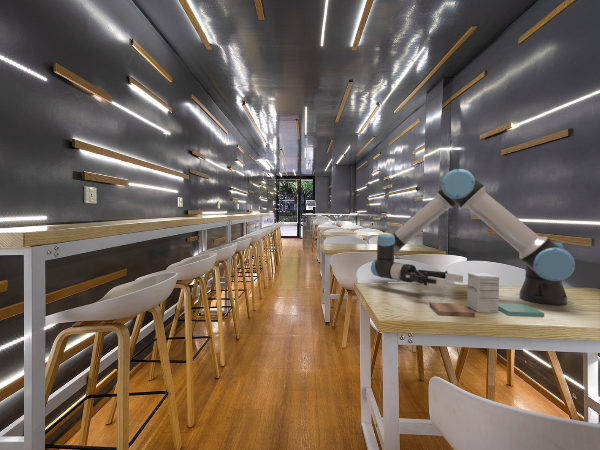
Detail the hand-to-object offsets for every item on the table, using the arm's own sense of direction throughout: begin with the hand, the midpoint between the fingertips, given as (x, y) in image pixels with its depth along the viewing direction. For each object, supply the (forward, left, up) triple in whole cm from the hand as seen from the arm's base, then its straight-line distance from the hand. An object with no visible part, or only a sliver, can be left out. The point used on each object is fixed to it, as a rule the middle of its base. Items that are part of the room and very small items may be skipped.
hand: (454, 281), depth 121 cm
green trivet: (-18, +8, -9) cm, 22 cm away
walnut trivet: (+5, +11, -9) cm, 15 cm away
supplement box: (-7, +7, -9) cm, 13 cm away
